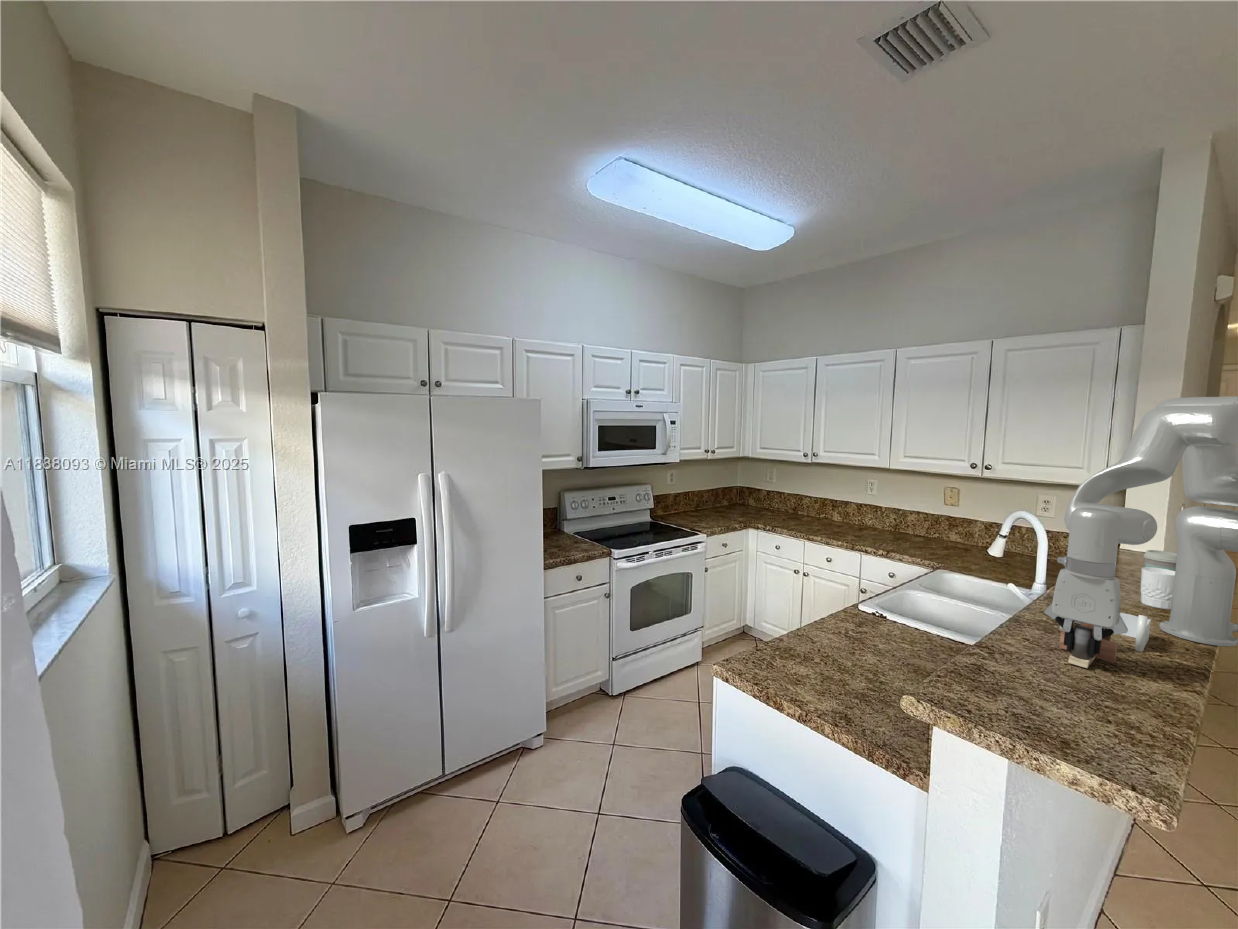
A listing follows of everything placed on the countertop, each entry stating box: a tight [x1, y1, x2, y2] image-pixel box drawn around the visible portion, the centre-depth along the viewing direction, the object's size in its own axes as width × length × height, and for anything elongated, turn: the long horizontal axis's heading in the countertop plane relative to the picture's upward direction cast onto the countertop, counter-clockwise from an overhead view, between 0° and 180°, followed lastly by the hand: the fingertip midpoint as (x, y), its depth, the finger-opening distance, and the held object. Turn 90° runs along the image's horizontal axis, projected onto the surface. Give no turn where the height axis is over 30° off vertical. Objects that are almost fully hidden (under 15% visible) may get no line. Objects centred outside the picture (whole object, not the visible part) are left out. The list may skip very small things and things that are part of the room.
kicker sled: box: [1058, 624, 1118, 669], centre depth 109 cm, size 10×9×8 cm
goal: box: [1059, 612, 1152, 653], centre depth 123 cm, size 11×15×8 cm
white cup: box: [1140, 566, 1175, 610], centre depth 144 cm, size 8×8×10 cm
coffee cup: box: [1143, 549, 1177, 571], centre depth 158 cm, size 8×8×12 cm
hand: (1081, 652), depth 107 cm, fingers closed on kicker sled, 2 cm apart
